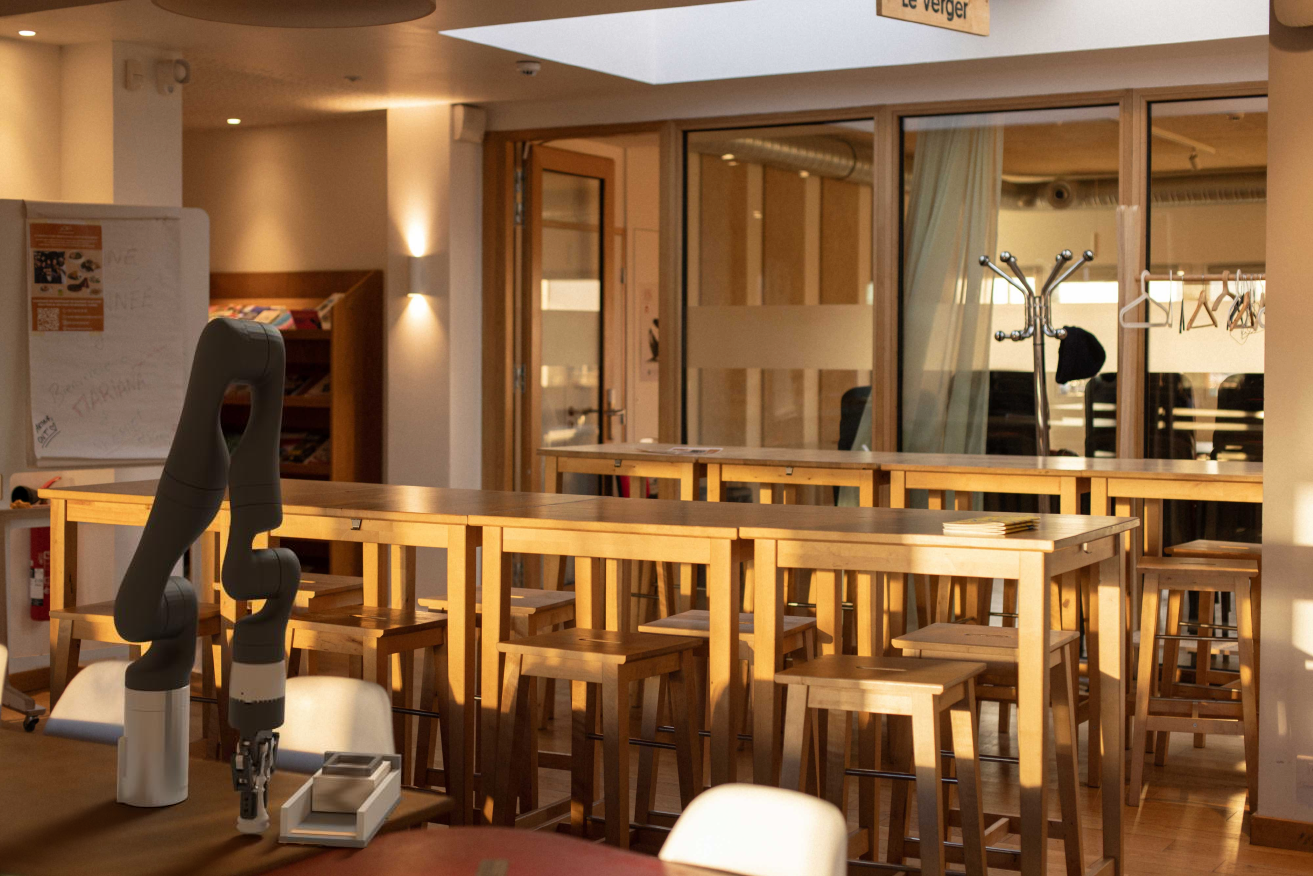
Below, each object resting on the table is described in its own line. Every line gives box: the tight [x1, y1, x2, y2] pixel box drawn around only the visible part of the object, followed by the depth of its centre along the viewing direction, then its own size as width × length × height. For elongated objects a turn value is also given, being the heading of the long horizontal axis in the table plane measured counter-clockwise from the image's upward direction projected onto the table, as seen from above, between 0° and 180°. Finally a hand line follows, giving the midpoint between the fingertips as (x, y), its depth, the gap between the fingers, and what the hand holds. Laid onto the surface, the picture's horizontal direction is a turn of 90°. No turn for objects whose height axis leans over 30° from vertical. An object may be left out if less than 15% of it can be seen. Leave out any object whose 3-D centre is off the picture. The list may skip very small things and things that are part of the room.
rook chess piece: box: [236, 772, 270, 835], centre depth 199 cm, size 4×4×8 cm
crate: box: [312, 753, 391, 813], centre depth 212 cm, size 9×10×6 cm
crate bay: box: [278, 750, 402, 849], centre depth 207 cm, size 12×22×7 cm, turn 177°
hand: (253, 813), depth 199 cm, fingers closed on rook chess piece, 3 cm apart
